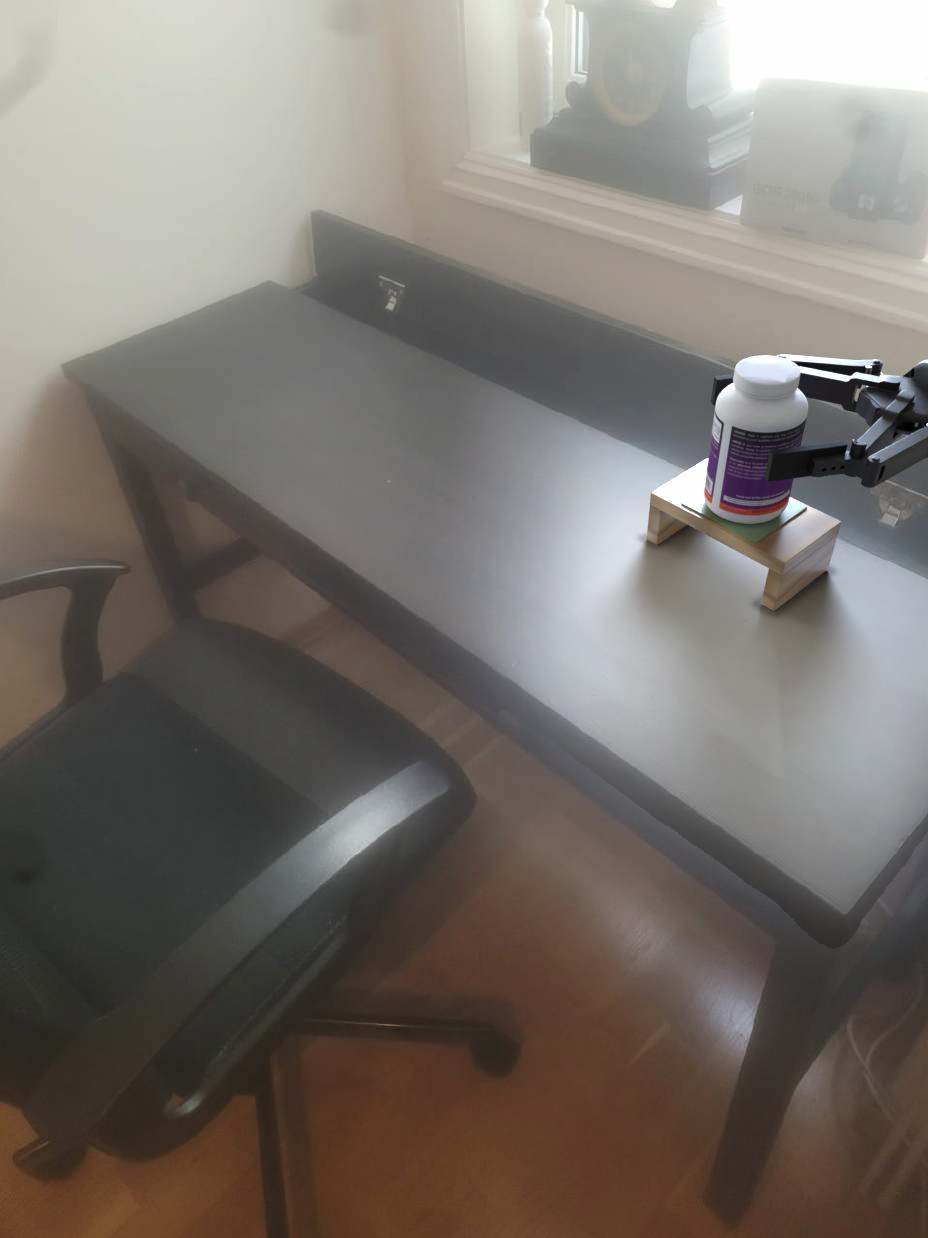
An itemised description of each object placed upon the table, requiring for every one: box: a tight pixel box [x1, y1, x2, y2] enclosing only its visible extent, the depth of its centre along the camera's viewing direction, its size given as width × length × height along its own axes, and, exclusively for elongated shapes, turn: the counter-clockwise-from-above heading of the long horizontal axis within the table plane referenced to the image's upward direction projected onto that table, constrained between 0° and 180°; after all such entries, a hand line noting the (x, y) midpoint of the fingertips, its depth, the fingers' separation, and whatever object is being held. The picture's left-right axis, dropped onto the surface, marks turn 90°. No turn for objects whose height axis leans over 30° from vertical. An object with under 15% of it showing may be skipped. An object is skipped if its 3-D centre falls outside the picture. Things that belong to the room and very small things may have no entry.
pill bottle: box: [704, 354, 809, 524], centre depth 80 cm, size 8×8×14 cm
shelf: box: [646, 457, 842, 612], centre depth 87 cm, size 16×9×6 cm, turn 40°
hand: (739, 426), depth 79 cm, fingers open, 13 cm apart
